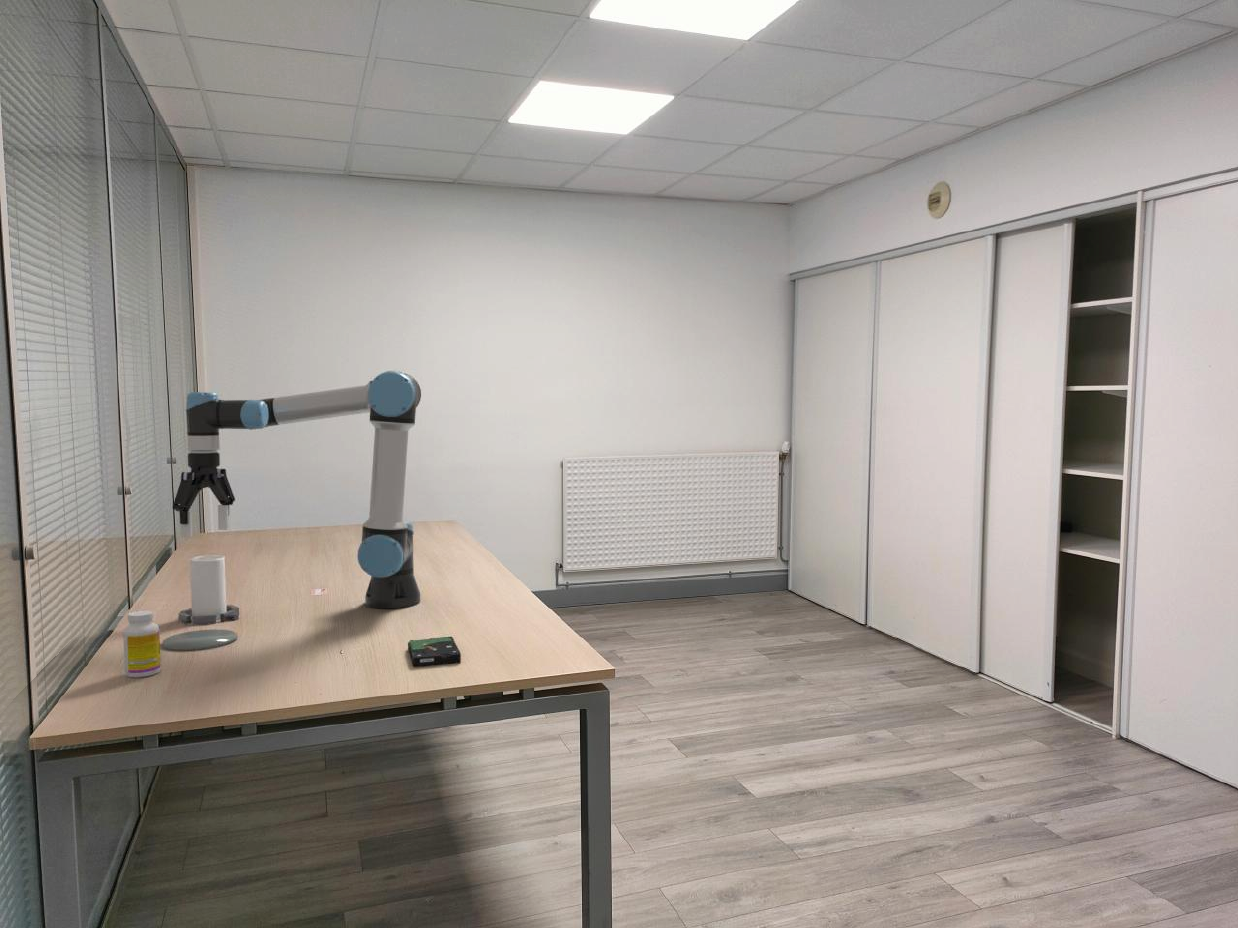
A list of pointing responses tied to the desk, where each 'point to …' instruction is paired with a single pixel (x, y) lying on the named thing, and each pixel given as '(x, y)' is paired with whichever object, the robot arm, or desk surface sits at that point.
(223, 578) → the cup
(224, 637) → the coaster
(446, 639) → the disk drive
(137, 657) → the supplement bottle
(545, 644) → the desk surface
